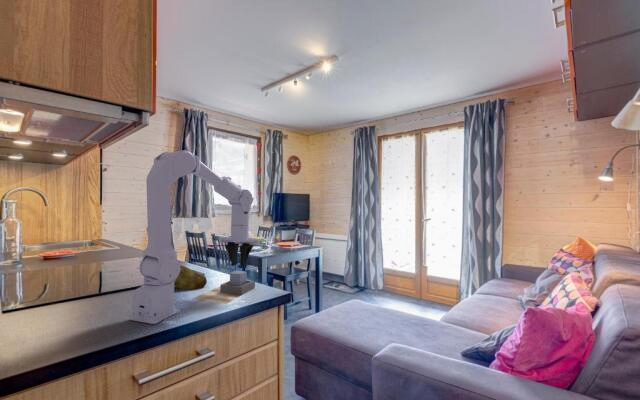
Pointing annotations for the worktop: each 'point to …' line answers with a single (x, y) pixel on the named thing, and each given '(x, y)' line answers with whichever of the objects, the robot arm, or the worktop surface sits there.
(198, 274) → the potato
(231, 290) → the frame
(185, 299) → the worktop surface
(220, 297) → the board
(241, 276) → the plug
